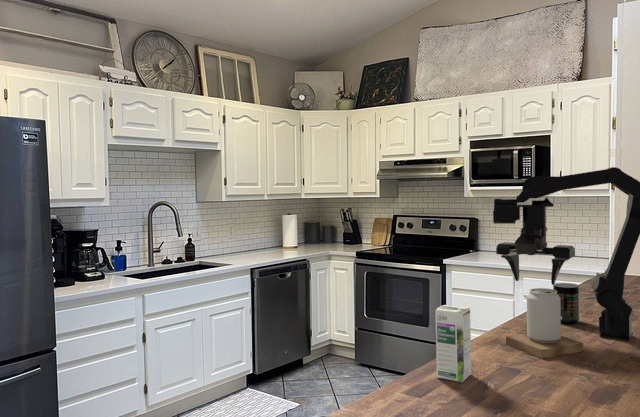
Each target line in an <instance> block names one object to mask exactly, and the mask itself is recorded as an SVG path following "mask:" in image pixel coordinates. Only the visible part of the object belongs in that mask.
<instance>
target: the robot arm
mask: <svg viewBox="0 0 640 417" xmlns="http://www.w3.org/2000/svg"><path fill="white" fill-rule="evenodd" d="M606 184H610V185H613V186H614V187H615V188H617V189H618V190H619V191H621V192H622V193H624V194H625V195H627V196H628V197H627V202H626V215H625V219H624V222H623V224H622V228H621V231H620V233H619V234H618V238H617V240H616V244H615V246H614V249H613V251H612V255H611V258H610V260H609V263H608V266H607V267H606V269H605V271H604V272H603V274H601V273H599V272H596V274H595V279H594V283H592V284H591V286H590V287H591V288H592V290H593V291H592V294H593V296H594V298H595V300H596V302H597V304H598V305H599V306H601V307H602V308H604V309H603V310H602V311H601V312H600V313H601V314H600V316H599V317H598V333H599V337H600V338H604V339H611V340H620V341H626V342H629V341H631V339H632V337H633V336H634V333H633V332H632V329H633V328H632V327H633V325H632V320H633V318H632V312H633V308H632V306H630V304H629V303H628V301H626V299H624V298H623V295H624V289H625V276H626V273H627V270H628V267H629V264H630V262H631V259H632V257H633V253H634V251H635V249H636V245H637V243H638V240H639V238H640V181H639V180H638V179H636V178H634V177H633V176H631V175H629V174H628V173H626V172H624V171H623V170H622V169H620V168H619V167H615V166H613V167H608V168H606V169H600V170H593V171H586V172H580V173H574V174H567V175H566V174H565V175H562V176H553V175H552V176H547V175H546V176H539V175H537V176H530V177H527V178H526V179H524V182H522V188H521V189H522V190H521V192H520V193H519V194H518V195H516V198H510V199H509V198H507V199H504V198H494V199H493V211H492V218H493V220H492V221H493V222H492V223H493V224H495V225H505V224H506V225H508V224H509V225H513V224H514V225H515V224H516V223H517V222H516V221H520V219H521V208H522V227H521V229H520V235H519V236H518V237H517V239H516V240H515V241H514V242H509V241H508V242H505V241H504V242H500V243H498V244H497V245H496V247H495V248H496V249H495V254H496V255H501V259H502V258H503V259H505V260H506V262H507V263H508V264H509V266H510V269H511V272H512V274H513V276H514V277H513V278H514V280H515V281H516V282H519V280H520V256H521V255H528V256H535V255H537V254H538V255H551V256H553V257H554V258H552V259H551V265H552V266H551V276H550V277H551V278H550V279H551V282H550V283H551V285H552V286H553V284H556V281H557V278H558V276H559V274H560V271H561V269H562V267H563V266H564V263H565V262H567V261H569V260H570V259H572V258H575V257H576V249H575V247H574V246H573V245H567V244H566V245H565V244H558V245H557V244H556V245H554V246H553V247H548V242H547V231H548V227H547V208H548V207H549V208H550V207H554V203H553V202H551V200H549V198H548V197H545V196H549V195H551V194H554V193H557V192H561V191H565V190H571V189H579V188H585V187H587V188H588V187H592V186H599V185H606ZM542 197H545V198H544V199H542V200H540V199H539V198H542ZM530 199H535V200H531V204H530V203H528V204H521V203H525V202H527V201H528V200H530ZM536 199H539V200H536ZM518 203H519V204H518Z"/></svg>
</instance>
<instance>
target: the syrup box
mask: <svg viewBox="0 0 640 417" xmlns="http://www.w3.org/2000/svg"><path fill="white" fill-rule="evenodd" d="M434 311H435V314H434V315H435V316H434V320H435V345H436V346H435V347H436V349H435V351H436V352H435V353H436V378H437V379H444V380H447V381H453V382H459V383H463V382H464V381H466V380H467V379H468V377H470V376H471V374H472V346H471V345H472V343H471V342H472V340H471V339H472V338H471V335H472V334H471V306H468V307H467V306H459V305H457V306H456V305H450V304H443V305H441V306H439V307H437V308H436V309H435V310H434Z"/></svg>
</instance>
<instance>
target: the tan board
mask: <svg viewBox="0 0 640 417" xmlns="http://www.w3.org/2000/svg"><path fill="white" fill-rule="evenodd" d="M583 343H584V342H581V341H578V340H576V339H572V338H570V337H569V338H568V337H566V336H563V335H561V338H560V339H559V340H557V342H554V343H541V342H536V341H533V340H531V338H530V337H529V336H527V332H526V333H525V332H524V333H519V334H512V335H506V336H505V344H506V345H507V346H509V347H511V348H514V349H517V350H519V351H522V352H524V353H527V354H529V355H531V356H534V357H536V358H538V359H542V360H543V359H549V358H553V357H559V356H564V355H569V354H577V353H580V352H581V353H582V352H583V351H584V350H583V348H584V345H583Z"/></svg>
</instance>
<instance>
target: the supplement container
mask: <svg viewBox="0 0 640 417" xmlns="http://www.w3.org/2000/svg"><path fill="white" fill-rule="evenodd" d="M552 289H553V290H556V291H557V295H558V296H559V297H560V310H561V325H567V326H568V325H572V326H573V325H577V324H579V323H580V320H581V317H580V316H581V314H580V310H581V308H580V307H581V306H580V285H579V284H576V283H570V282H568V283H567V282H559V283H557V282H555V283H554V284H553V285H552Z"/></svg>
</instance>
